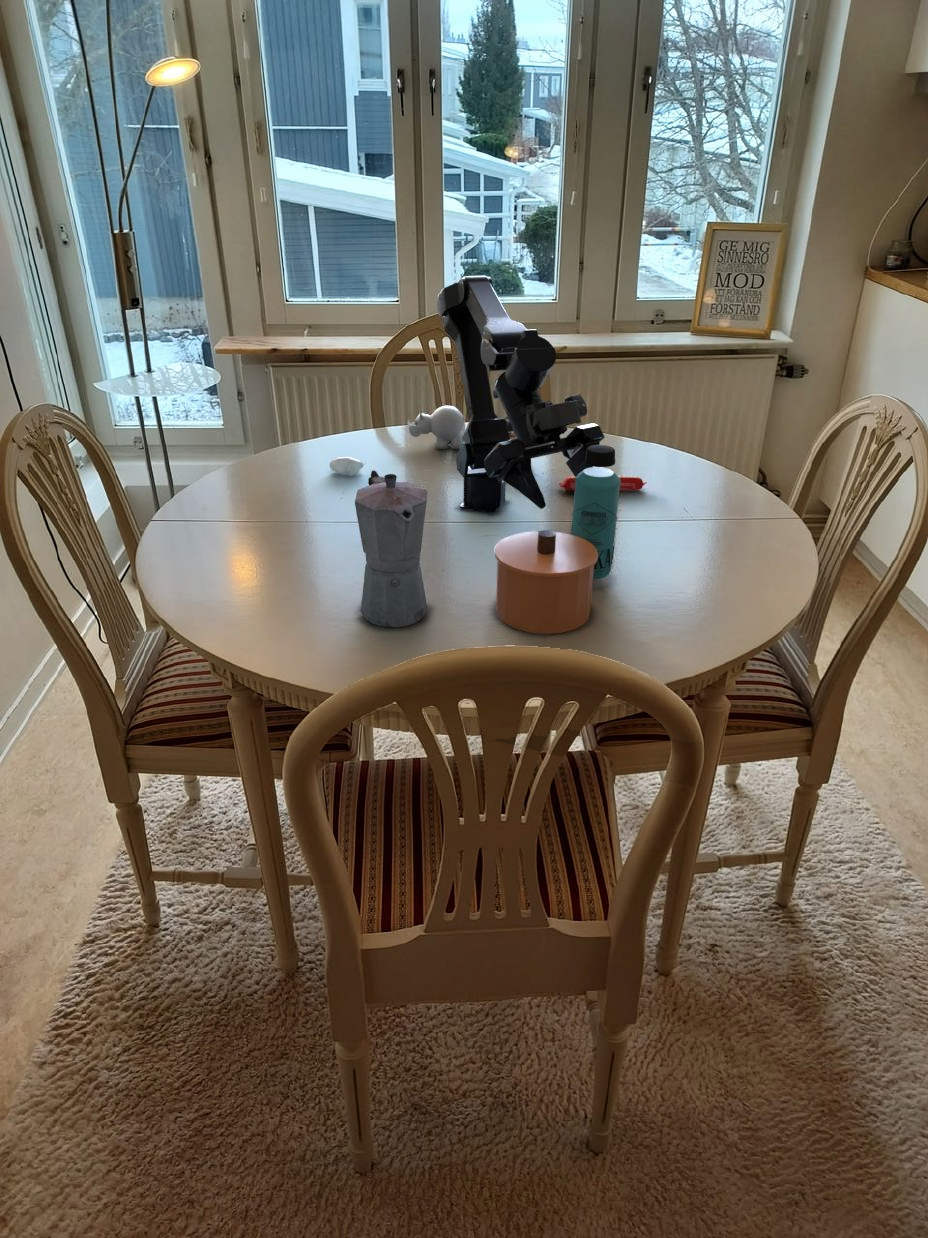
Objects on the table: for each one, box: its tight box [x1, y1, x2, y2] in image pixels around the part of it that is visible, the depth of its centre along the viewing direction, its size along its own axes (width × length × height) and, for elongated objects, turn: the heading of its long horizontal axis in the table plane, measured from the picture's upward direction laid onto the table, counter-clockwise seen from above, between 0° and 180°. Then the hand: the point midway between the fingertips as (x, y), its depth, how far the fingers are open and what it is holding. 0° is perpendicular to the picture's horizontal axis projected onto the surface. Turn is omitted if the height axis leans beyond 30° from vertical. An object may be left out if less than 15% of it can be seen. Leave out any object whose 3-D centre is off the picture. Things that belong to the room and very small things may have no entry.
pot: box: [495, 560, 594, 635], centre depth 115 cm, size 13×13×8 cm
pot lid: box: [494, 529, 598, 577], centre depth 113 cm, size 14×14×4 cm
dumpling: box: [328, 456, 365, 477], centre depth 166 cm, size 7×5×4 cm
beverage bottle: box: [569, 444, 621, 580], centre depth 121 cm, size 6×7×20 cm
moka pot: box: [354, 469, 428, 628], centre depth 112 cm, size 10×15×20 cm, turn 27°
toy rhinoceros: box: [407, 405, 466, 450], centre depth 180 cm, size 7×12×8 cm, turn 89°
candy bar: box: [558, 475, 648, 492], centre depth 158 cm, size 16×4×3 cm, turn 92°
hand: (568, 500), depth 124 cm, fingers open, 9 cm apart
